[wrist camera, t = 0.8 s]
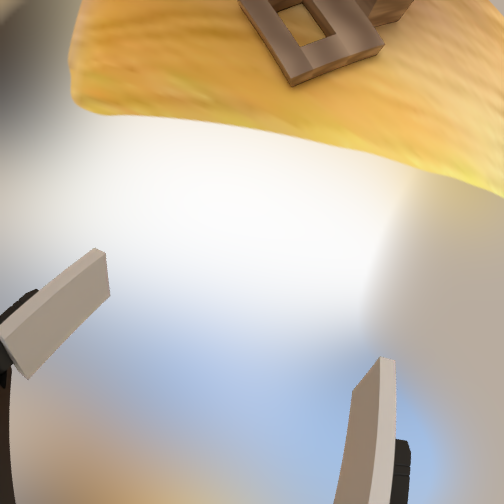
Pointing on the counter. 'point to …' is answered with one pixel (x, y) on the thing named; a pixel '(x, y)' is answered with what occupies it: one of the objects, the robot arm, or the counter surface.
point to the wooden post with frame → (332, 24)
